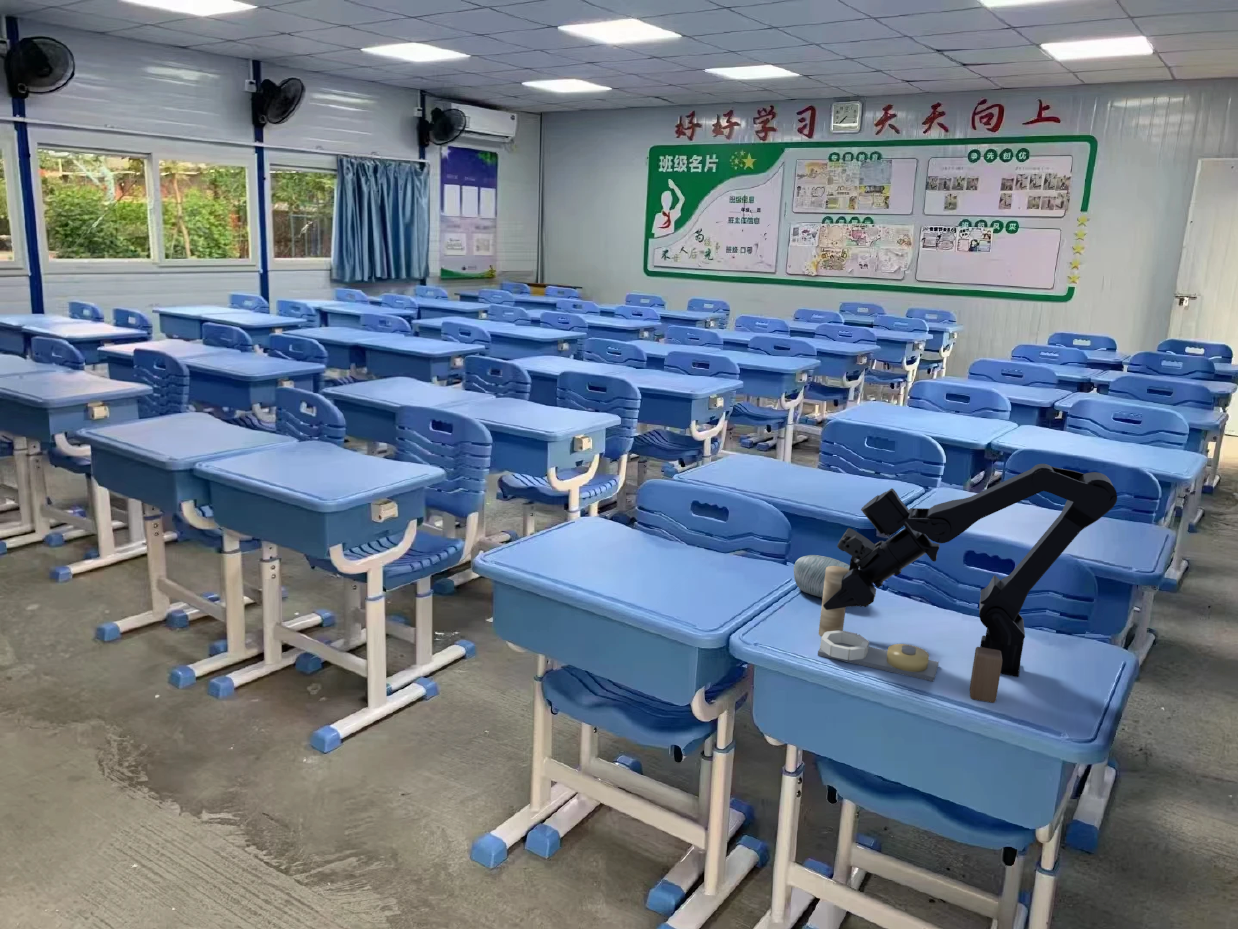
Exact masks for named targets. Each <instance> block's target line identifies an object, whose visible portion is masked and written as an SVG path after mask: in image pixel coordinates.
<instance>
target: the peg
mask: <svg viewBox="0 0 1238 929" xmlns="http://www.w3.org/2000/svg"><path fill="white" fill-rule="evenodd" d="M849 571H850V570H848V569H847V568H844V567H840V566H829V567H826V572H825V581H824V590H823V598H821V599H822V600H821V608H820V609H821V610H820V617H819V618H820V619H819V627H818V635H819V637H820V638H821V637H822V636H823V634H824V633H825V632H827V631H837V630H840V631H842V630H843V631H844V625H845V624H844V623H845V617H846V608H847V607H845V608H838V609H831V610H826V609H825V608H824V607H823V605H824V604H825V603H826V602H827V601H828V600H829V599H830V598H831V597H832V596H833V595H834V594H835V593H836V592H837V591H838V590H839V589H840V588H841V584H842V583H841V581H842V578H843V576H845V575H846V574H847V573H848V572H849Z"/></svg>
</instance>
